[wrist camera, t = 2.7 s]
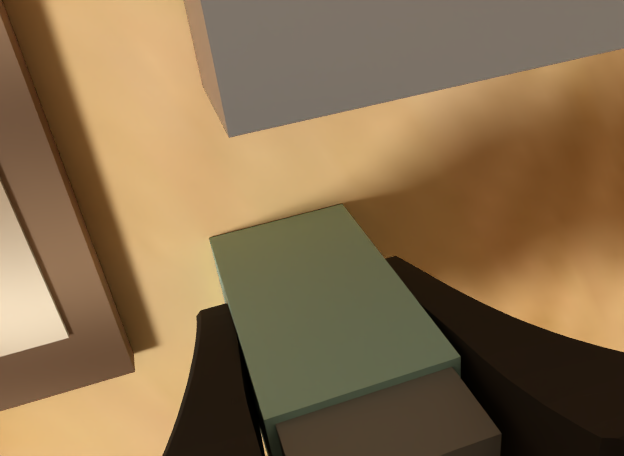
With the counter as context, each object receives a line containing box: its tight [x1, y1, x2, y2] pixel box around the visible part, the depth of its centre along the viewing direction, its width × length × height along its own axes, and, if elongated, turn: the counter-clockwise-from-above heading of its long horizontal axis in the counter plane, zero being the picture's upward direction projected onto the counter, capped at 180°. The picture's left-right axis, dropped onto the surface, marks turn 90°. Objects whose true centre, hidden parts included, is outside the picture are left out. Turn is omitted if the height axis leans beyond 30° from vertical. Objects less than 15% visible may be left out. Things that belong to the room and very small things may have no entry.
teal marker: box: [209, 204, 502, 456], centre depth 12 cm, size 3×3×7 cm
